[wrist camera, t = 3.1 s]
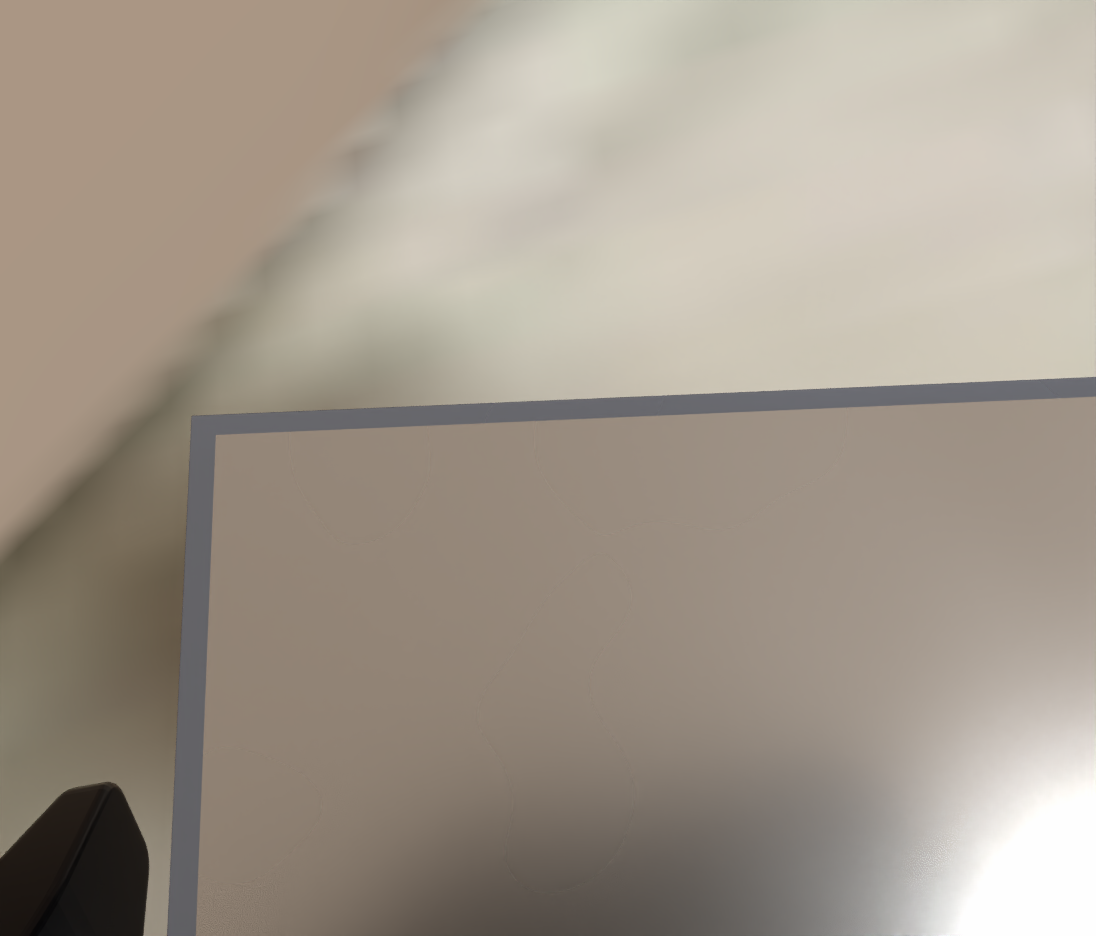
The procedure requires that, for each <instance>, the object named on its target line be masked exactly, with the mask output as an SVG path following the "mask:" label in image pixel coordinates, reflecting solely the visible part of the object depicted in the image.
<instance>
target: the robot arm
mask: <svg viewBox="0 0 1096 936" xmlns="http://www.w3.org/2000/svg"><path fill="white" fill-rule="evenodd" d="M148 877H149V857H148V850H147V846H146V843H145V840H144V838H143V836H142V834H141V831H140V829H139V827H138V825H137V823H136V820H135V818H134V816H133V814H132V811H131V809H130V807H129V805H128V803H127V800H126V798H125V796H124V794H123V792H122V790H121V789H120V787H119V786H117V785H116V784H115V783H111V782H103V783H98V784H92V785H87V786H81V787H76V788H72V789H69V790H67V791H65V792H64V793H63V794H61V795H60V796H59V797H58V798H57V799H56V800H55V801H54V802H53V803H52V804H51V805H50V806H49V808H48V809H47V810H46V811H45V812H44V813H43V814H42V815H41V816H40V817H39V818H38V819H37V820H36V821H35V822H34V823H33V824H32V825H31V827H30V828H29V829H28V830H27V831H26V832H25V833H24V834H23V835H22V836H21V837H20V838H19V839H18V840H17V841H16V842H15V843H14V844H13V846H12V847H11V848H10V849H9V850H8V851H7V852H6V853H5V854H4V855H3V856H2V857H1V858H0V936H143V933H144V922H145V911H146V899H147V888H148Z"/></svg>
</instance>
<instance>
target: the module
mask: <svg viewBox="0 0 1096 936" xmlns="http://www.w3.org/2000/svg"><path fill="white" fill-rule="evenodd" d="M167 936H1096V377H1086V378H1063V379H1040V380H1017V381H993V382H970V383H947V384H923V385H900V386H877V387H853V388H830V389H807V390H783V391H760V392H737V393H714V394H690V395H667V396H644V397H620V398H597V399H574V400H550V401H527V402H504V403H480V404H457V405H434V406H410V407H387V408H364V409H341V410H317V411H294V412H271V413H247V414H224V415H201V416H192V420H191V441H190V462H189V484H188V505H187V526H186V547H185V569H184V590H183V611H182V632H181V653H180V675H179V696H178V717H177V738H176V759H175V781H174V802H173V823H172V844H171V865H170V887H169V908H168V929H167Z"/></svg>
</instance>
